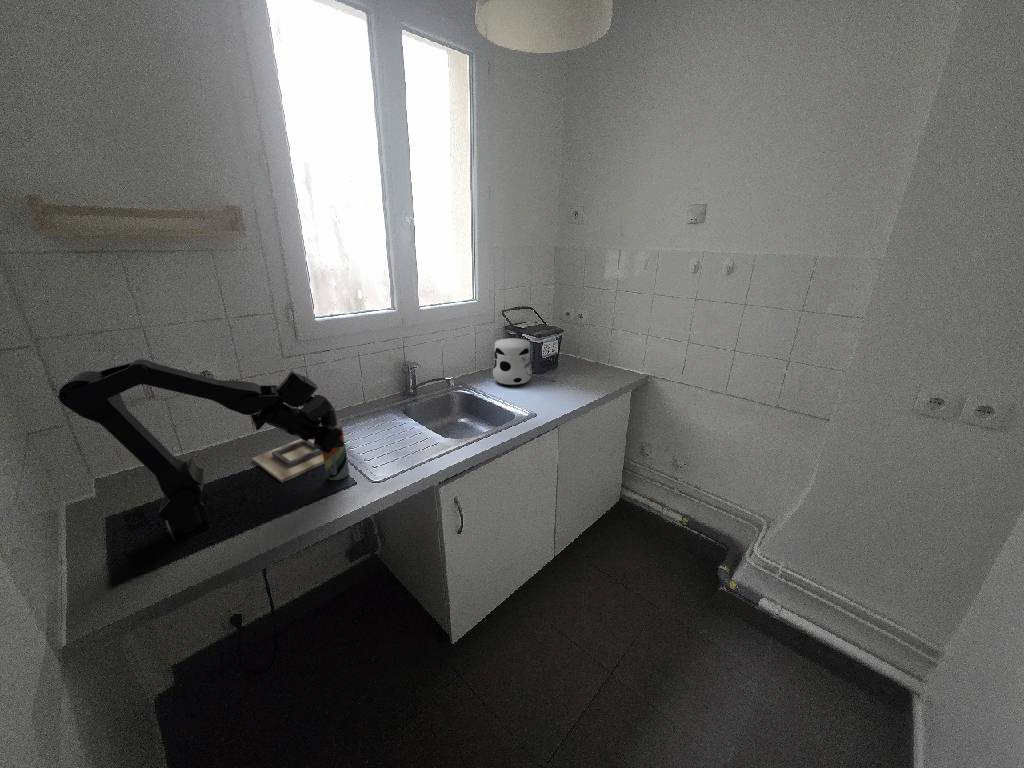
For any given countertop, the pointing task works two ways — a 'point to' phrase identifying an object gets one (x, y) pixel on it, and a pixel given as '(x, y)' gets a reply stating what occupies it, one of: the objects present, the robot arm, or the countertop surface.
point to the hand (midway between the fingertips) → (337, 441)
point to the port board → (291, 459)
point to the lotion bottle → (335, 450)
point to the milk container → (512, 362)
